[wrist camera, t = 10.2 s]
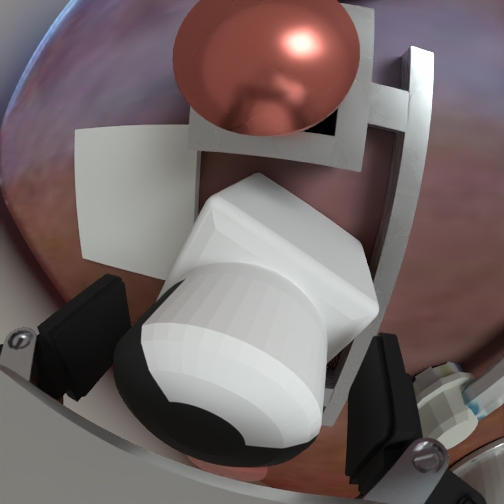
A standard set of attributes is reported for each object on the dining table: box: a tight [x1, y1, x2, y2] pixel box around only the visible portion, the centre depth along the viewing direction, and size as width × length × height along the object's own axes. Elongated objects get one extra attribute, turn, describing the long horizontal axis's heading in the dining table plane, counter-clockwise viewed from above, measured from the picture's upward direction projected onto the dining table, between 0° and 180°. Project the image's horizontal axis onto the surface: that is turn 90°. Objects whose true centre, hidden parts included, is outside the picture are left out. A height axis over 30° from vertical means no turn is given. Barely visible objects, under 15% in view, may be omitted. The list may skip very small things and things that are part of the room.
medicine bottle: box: [113, 173, 379, 468], centre depth 12 cm, size 7×7×12 cm
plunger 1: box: [173, 0, 360, 137], centre depth 9 cm, size 5×5×8 cm
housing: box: [187, 3, 434, 426], centre depth 14 cm, size 25×10×6 cm, turn 175°
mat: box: [75, 125, 201, 280], centre depth 18 cm, size 10×10×1 cm
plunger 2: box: [187, 455, 269, 482], centre depth 16 cm, size 5×5×8 cm
